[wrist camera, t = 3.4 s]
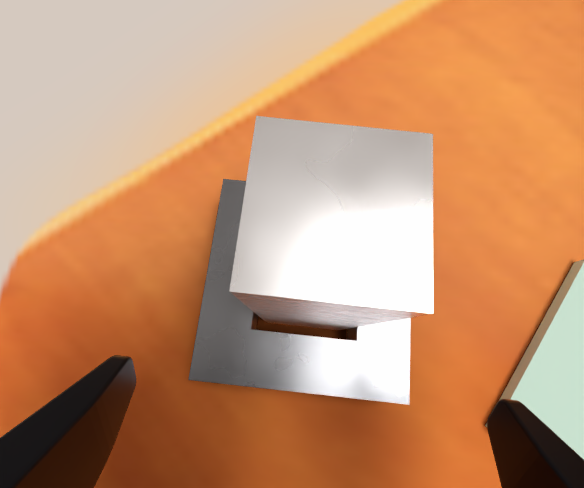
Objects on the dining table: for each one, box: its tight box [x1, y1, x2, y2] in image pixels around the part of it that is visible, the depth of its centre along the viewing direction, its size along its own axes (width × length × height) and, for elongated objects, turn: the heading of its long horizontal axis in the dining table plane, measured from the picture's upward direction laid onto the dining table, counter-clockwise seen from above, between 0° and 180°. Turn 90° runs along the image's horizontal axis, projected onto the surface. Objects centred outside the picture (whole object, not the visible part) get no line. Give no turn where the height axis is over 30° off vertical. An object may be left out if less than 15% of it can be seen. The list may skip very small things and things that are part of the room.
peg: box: [229, 116, 433, 330], centre depth 14 cm, size 4×4×13 cm
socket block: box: [189, 179, 411, 405], centre depth 18 cm, size 10×10×3 cm
